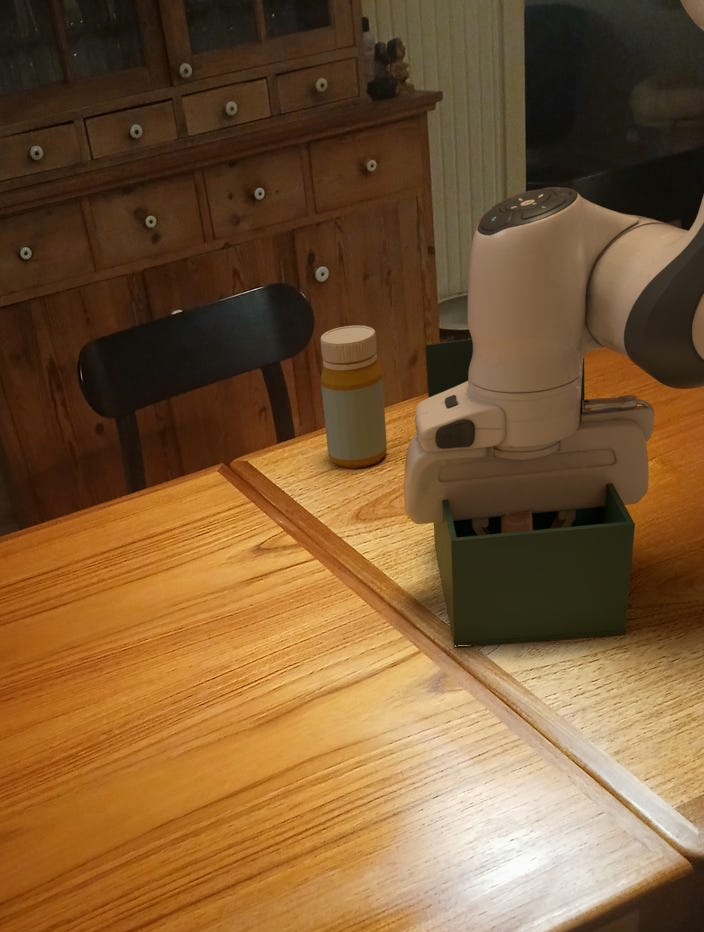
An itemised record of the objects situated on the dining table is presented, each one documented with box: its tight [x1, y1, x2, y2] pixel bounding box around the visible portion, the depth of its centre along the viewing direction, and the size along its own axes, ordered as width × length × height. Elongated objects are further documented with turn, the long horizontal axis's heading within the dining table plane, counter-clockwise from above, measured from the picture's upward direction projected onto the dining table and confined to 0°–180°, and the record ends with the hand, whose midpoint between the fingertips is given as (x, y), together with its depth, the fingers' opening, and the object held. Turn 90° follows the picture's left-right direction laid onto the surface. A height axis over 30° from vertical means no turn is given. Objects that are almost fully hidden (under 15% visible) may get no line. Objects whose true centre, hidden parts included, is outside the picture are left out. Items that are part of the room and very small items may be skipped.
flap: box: [424, 338, 586, 400], centre depth 90 cm, size 14×9×1 cm
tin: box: [501, 509, 533, 533], centre depth 88 cm, size 15×3×8 cm, turn 167°
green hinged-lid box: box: [433, 483, 636, 647], centre depth 88 cm, size 14×18×10 cm
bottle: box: [320, 325, 388, 469], centre depth 115 cm, size 7×7×15 cm
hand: (520, 552), depth 89 cm, fingers open, 4 cm apart
